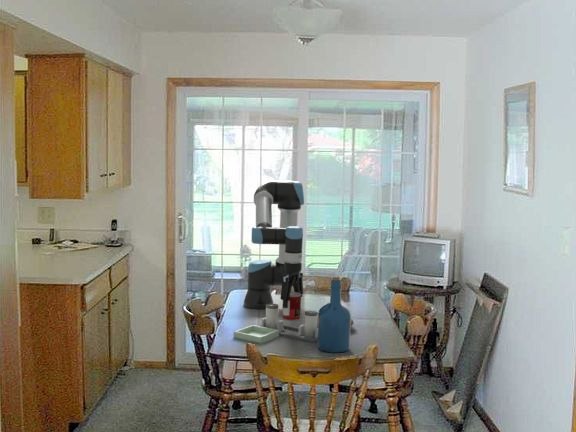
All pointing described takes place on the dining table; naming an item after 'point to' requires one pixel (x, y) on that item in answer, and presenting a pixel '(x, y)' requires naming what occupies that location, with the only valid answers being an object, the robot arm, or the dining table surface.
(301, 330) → the fuse block
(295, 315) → the canned food
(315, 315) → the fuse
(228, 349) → the dining table surface
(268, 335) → the tray
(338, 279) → the wine bottle
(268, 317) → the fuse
